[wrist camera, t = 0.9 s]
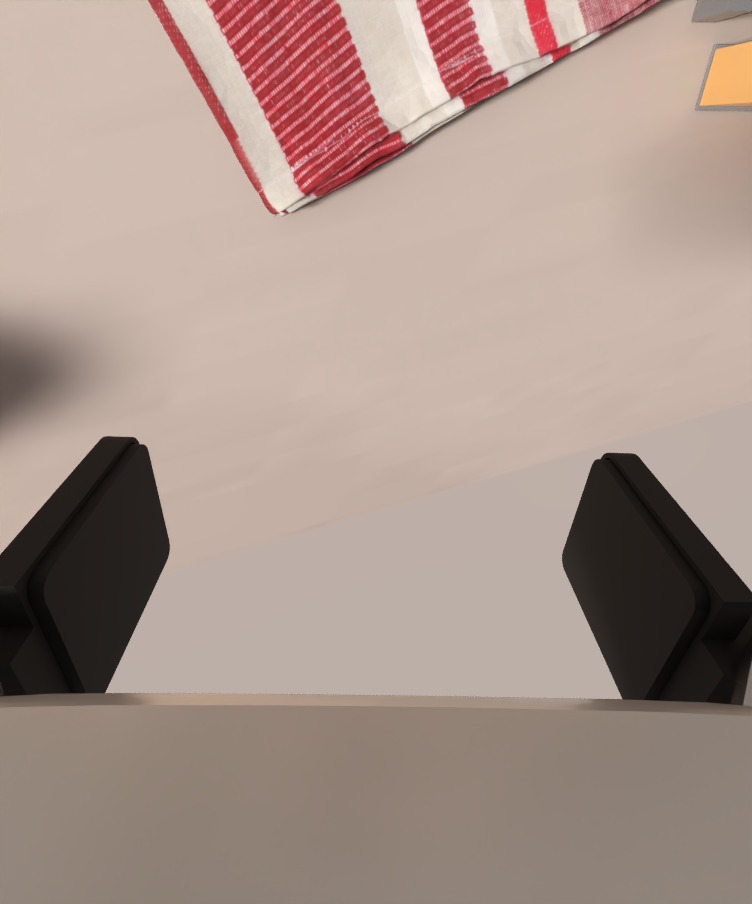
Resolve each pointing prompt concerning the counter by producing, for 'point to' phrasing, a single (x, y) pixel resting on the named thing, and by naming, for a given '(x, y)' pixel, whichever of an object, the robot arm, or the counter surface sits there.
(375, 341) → the counter surface
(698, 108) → the cradle
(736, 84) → the block
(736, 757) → the robot arm
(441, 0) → the dish towel
